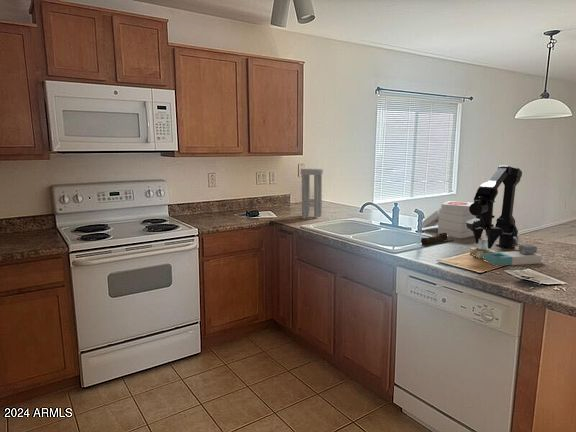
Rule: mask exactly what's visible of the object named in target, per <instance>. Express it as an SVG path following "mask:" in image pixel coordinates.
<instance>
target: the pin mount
mask: <svg viewBox="0 0 576 432" xmlns="http://www.w3.org/2000/svg"><path fill="white" fill-rule="evenodd" d="M494 252H497V251H496V250H493V249H492V248H490V249H489V248H488V251H480V250H478V246H477V247H469V253H470V254H469V255H471V254H473V255H475V256H477V257H479V258H483V257H484V253H494ZM473 255H472V256H473ZM475 256H474V257H475ZM477 257H476V258H477ZM479 258H478V259H479ZM483 259H484V258H483Z"/></svg>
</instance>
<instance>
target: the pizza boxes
mask: <svg viewBox="0 0 576 432" xmlns="http://www.w3.org/2000/svg"><path fill="white" fill-rule="evenodd" d="M473 203H474V202H468V201H453V200H447V201H445V202H443V203H441V206H440V207H441V208H438V210H436V211H434V212H433V213H431V215H429V216H428V217H427V218H425V219H424V220H422V222H423V223H422V226H421V228H422V229H424V228H431V227H435V226H437V234H438V233H439V234H440V233H447V235H448V236H447V237H451V236H452V237H453V238H457V239H463V238H470V237H474V234H473V232H472V231H471V230H470V229H468V228H467V225H466V221H469V220H471V219H474V218H476V216H474V215H472V214H471V213H470V211H469V207H470V205H471V204H473ZM439 234H438V235H439ZM452 237H451V238H452Z"/></svg>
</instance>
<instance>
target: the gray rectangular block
mask: <svg viewBox="0 0 576 432" xmlns="http://www.w3.org/2000/svg"><path fill="white" fill-rule="evenodd" d="M537 249H538V247H537V245H534V244H519V245H518V252H521V253H523V254H525V255H531V254H533V253H537Z"/></svg>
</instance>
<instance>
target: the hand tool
mask: <svg viewBox="0 0 576 432" xmlns="http://www.w3.org/2000/svg"><path fill="white" fill-rule="evenodd" d="M445 240H446V241H448V236H447V233H440V234H438V235H433V236H429V237H422V238H421V239H420V243H422V244H423V245H422V244H421V245H422V246H427V245H430V244H434V243H438V242H439V241H441V242H439V243H444V242H446V241H445ZM443 241H444V242H443Z"/></svg>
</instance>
